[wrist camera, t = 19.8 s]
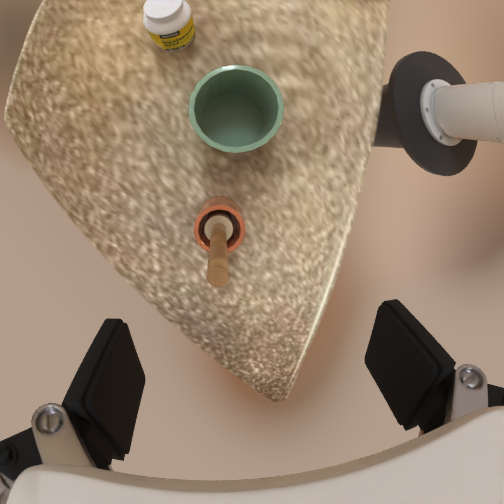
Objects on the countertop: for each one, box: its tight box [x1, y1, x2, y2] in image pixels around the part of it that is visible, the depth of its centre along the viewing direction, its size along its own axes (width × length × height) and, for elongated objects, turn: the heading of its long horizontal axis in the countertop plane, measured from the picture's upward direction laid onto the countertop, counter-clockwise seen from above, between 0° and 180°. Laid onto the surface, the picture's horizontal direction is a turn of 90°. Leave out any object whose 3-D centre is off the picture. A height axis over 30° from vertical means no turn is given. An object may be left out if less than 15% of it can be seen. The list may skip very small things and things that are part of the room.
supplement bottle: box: [143, 0, 195, 52], centre depth 21 cm, size 5×5×10 cm
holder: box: [194, 196, 245, 253], centre depth 33 cm, size 6×6×6 cm
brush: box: [204, 209, 233, 287], centre depth 27 cm, size 3×3×17 cm
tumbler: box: [188, 65, 284, 153], centre depth 26 cm, size 8×8×11 cm
